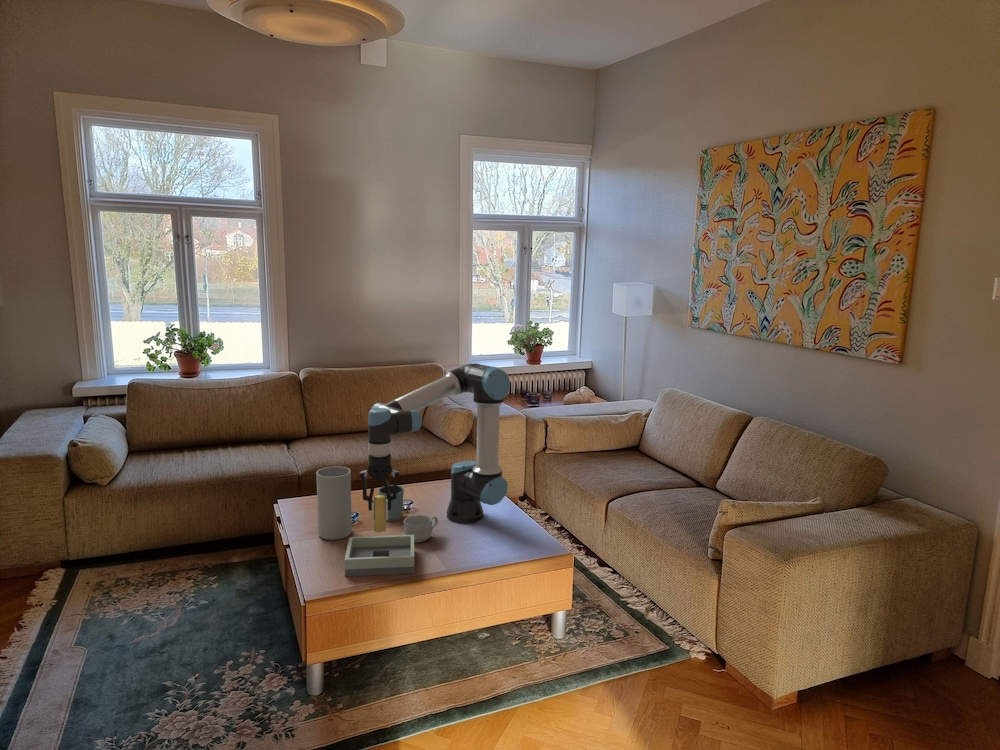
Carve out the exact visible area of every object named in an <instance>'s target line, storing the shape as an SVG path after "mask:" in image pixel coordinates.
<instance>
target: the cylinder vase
mask: <svg viewBox="0 0 1000 750" xmlns="http://www.w3.org/2000/svg"><path fill="white" fill-rule="evenodd" d="M315 473H316V498H317V499H316V501H317V505H316V506H317V528H318V529H317V531H318V533H317V534H318V536H319V537H320V538H321V539H324V540H327V541H336V540H337V541H338V540H343V539H346V538H347V537H349V536H350V535H351V534H352V533H353V532H352V531H353V527H352V526H353V525H352V524H353V523H352V484H351V482H352V481H351V480H352V477H351V476H352V475H351V469H350V468H348V467H345V466H327V467H322V468H320V469H318V470H316V472H315Z"/></svg>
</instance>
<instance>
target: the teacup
mask: <svg viewBox="0 0 1000 750" xmlns="http://www.w3.org/2000/svg"><path fill="white" fill-rule="evenodd" d="M433 520H434V522H433ZM438 522H439V519H438V517H437V516H436V515H432V516H428V515H423V514H422V515H421V514H416V515H411V516H408V517H406V518H404V520H403V530H404V535H414V543H422V542H427V540H428V539H429V538H430V537H431V536H432V533H433V529H434V528H435V527H436V526H437V524H438Z"/></svg>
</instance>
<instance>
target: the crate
mask: <svg viewBox="0 0 1000 750" xmlns="http://www.w3.org/2000/svg"><path fill="white" fill-rule="evenodd" d="M347 542H348V543H347V547H346V551H345V556H344V577H360V576H361V577H363V576H386V575H387V576H389V575H407V574H411V573H412V574H415V542H414V535H405V534H400V535H399V534H396V535H394V534H393V535H374V536H372V535H368V536H367V535H366V536H350V537H349V536H348V541H347Z"/></svg>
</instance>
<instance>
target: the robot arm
mask: <svg viewBox="0 0 1000 750" xmlns="http://www.w3.org/2000/svg"><path fill="white" fill-rule="evenodd" d="M510 389H511V379H510V377H509V375H508V374H507V373H506V371H505V370H503V369H501V368H498V367H496V366H491V365H486V364H481V363H476V362H475V363H469V364H468V363H467V364H465V365H462V366H459V367H457V368H454V369H452V370H450V371H447V372H446V373H445V374H444V376H443V377H440V378H438V379H437V380H436V379H435V380H434V381H432V382H430V383H428V384H426V385H423V386H421V387H418V388H417V389H414V390H412V391H409V392H408V393H407V394H406V393H405V394H404V395H402V396H400V397H397V398H396V399H393V400H391V401H388V402H386V403H384V402H376V403H375V404H373V405H372V407H371V408H370V410H369V411H368V416H367V427H368V429H367V431H368V434H367V435H368V439H367V440H368V442H367V443H368V445H367V446H368V447H367V448H368V466H367V469H366V470H361V471H360V472H359V476H360V478H361V485H362V499H363V501H366V502H367V503H368V504H367V505H368V508H367V509H368V511H371V521H374V491H375V488H376V483H377V482H378V481H382V482H383V485H384V486H385V491H386V495H387V499H386V502H385V514H386V521H387V520H388V510H391V501H392V500H395V499H396V495H397V485H398V478H399V476H400V470H395V469H393V467H392V458H391V457H392V456H391V450H392V448H391V447H392V444H391V443H392V436H394V435H401V434H406V433H407V434H408V433H413V432H417V431H420V429H421V427H422V424H423V418H422V416H421V413H420V410H422V409H424V408H426V407H430V405H433V404H435V403H437V402H440V401H442V400H444V399H446V398H447V397H449V396H452V395H454V396H458V395H461V394H463V393H471V394H473V403H474V404H476V408H477V409H476V412H477V415H476V461H475V460H465V461H457V462H455V463H453V464H452V465H451V470H450V499H449V503H448V506H447V509H446V518H447V519H448V521H451V522H453V523H458V524H473V523H476V522H479V521H481V520H482V519H483V518H484V508H483V506H482V504H486V505H489V506H495V505H497V504H499V503H501V502H502V501H503V499H504V498H505V497H506V495H507V493H508V489H509V486H508V485H509V484H508V481H507V480H506V479H505V478H504V477H503V468H502V467H501V466H500V465H499V452H500V451H499V449H500V448H499V447H500V446H499V445H500V443H499V441H500V407H501V405H502V404H503V403H504V401H505V400H504V399H505V398H507V396H508V394H509V393H510ZM391 474H392V477H393V484H392V485H393V495H392V496H391V494H390V489H389V482H388V477H389V476H390V475H391ZM368 475H369V476H370V478H371V479H372V480H371V481H372V482H371V485H370V490H369V495H368V489H367V477H368Z"/></svg>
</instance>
